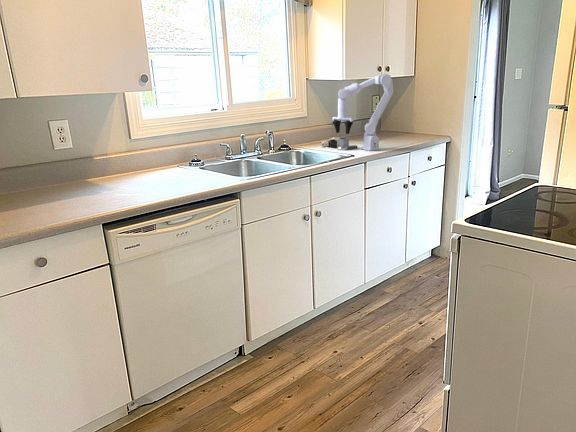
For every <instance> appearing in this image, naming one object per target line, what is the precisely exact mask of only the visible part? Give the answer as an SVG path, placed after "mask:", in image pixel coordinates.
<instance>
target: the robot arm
mask: <svg viewBox="0 0 576 432" xmlns="http://www.w3.org/2000/svg"><path fill="white" fill-rule="evenodd" d="M372 85H381V86H382V89H383V92H384V93H383V94H382V96H381V98H380V100H379V101H378V104H377V105H376V107H375V110H374V111H373V114H372V115H371V117H370V119H369V120H368V121H367V122H366V123H365V124H364V133H363V147H361V148H360V149H361V150H363V151H368V152H369V151H371V152H372V151H379V150H381V149H380V148H379V147H380V138H379V137H378V136H377V133H376V130H377V126H378V123H379V121H380V119H381V117H382V115H383V113H384V111H385V109H386V108H387V105H388V103H389V102H390V100H391V98H392V96H393V94H394V82H393V79H392V77H391V75H390V74H387V73H383V74H380V75H376V76H373V77H371V78H369V79H366V80H365V81H363V82H360V83H358V82H352V83H351V84H350V85H348V86H344V88H340V89H339V90H338V92H337V97H338V99H337V116H332V124H333V126H334V128H335V134H339V133H340V131H341V129H340V128H341V124H342V123H341V122H344V126H345V134H346V135H349V134H350V131H351V129H352V126H353V124H354V118H353V117H349V116H348V115H349V113H348V109H349V106H348V104H349V103H348V97H352V96H354V95H356V94H358V93H360V92H361V90H363V89H365V88H367V87H370V86H372Z"/></svg>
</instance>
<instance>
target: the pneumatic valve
mask: <svg viewBox="0 0 576 432" xmlns="http://www.w3.org/2000/svg"><path fill="white" fill-rule="evenodd" d="M339 138H340V137H336V136H333V137H330V138H329V139H328V140H321V147H322V148H323V147H328V149H338V147H337V139H339Z"/></svg>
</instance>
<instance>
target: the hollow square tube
mask: <svg viewBox="0 0 576 432" xmlns="http://www.w3.org/2000/svg"><path fill="white" fill-rule="evenodd" d="M338 138H339V139H337V147H340V148H346V147H349V146H350V145H349V144H350V138H348V137H347V138H346V137H338Z"/></svg>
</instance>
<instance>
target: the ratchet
mask: <svg viewBox="0 0 576 432" xmlns="http://www.w3.org/2000/svg"><path fill="white" fill-rule="evenodd" d="M354 149H358V145H356V144H353V145H349V147H346V148H340V147H338V148H337V151H347V150H354Z"/></svg>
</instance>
